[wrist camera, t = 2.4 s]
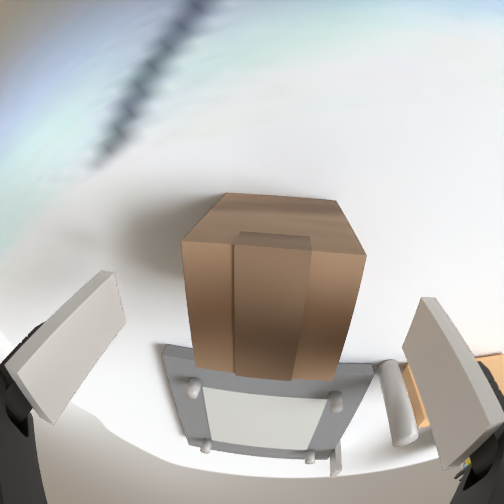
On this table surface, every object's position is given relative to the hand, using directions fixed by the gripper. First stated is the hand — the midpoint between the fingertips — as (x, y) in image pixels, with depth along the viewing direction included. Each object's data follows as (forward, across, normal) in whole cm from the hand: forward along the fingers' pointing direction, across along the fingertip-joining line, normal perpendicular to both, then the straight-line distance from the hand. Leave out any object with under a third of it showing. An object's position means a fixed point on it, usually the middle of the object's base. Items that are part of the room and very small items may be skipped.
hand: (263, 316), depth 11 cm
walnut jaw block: (+6, 0, 0) cm, 6 cm away
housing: (+6, +2, -16) cm, 18 cm away
